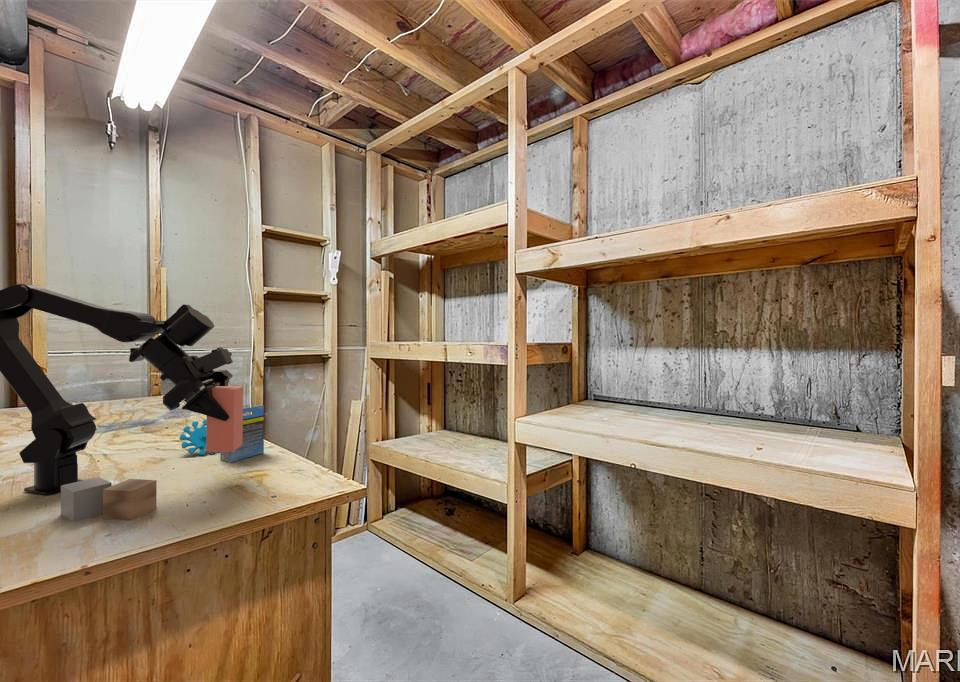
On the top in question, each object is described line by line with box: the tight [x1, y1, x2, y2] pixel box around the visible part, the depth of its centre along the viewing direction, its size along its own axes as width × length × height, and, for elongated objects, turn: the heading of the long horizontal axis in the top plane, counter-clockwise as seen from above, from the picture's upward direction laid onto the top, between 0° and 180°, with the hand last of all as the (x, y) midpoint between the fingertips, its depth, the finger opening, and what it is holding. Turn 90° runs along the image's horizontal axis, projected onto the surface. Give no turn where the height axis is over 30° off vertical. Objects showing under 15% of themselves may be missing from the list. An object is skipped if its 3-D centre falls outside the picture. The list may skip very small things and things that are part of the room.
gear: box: [179, 419, 216, 457], centre depth 109 cm, size 11×6×10 cm
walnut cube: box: [102, 478, 158, 521], centre depth 73 cm, size 5×5×5 cm
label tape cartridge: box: [219, 405, 265, 463], centre depth 104 cm, size 9×4×12 cm, turn 152°
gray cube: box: [60, 476, 113, 523], centre depth 73 cm, size 5×5×5 cm
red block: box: [205, 385, 244, 453], centre depth 88 cm, size 5×5×12 cm
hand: (232, 416), depth 88 cm, fingers closed on red block, 5 cm apart
